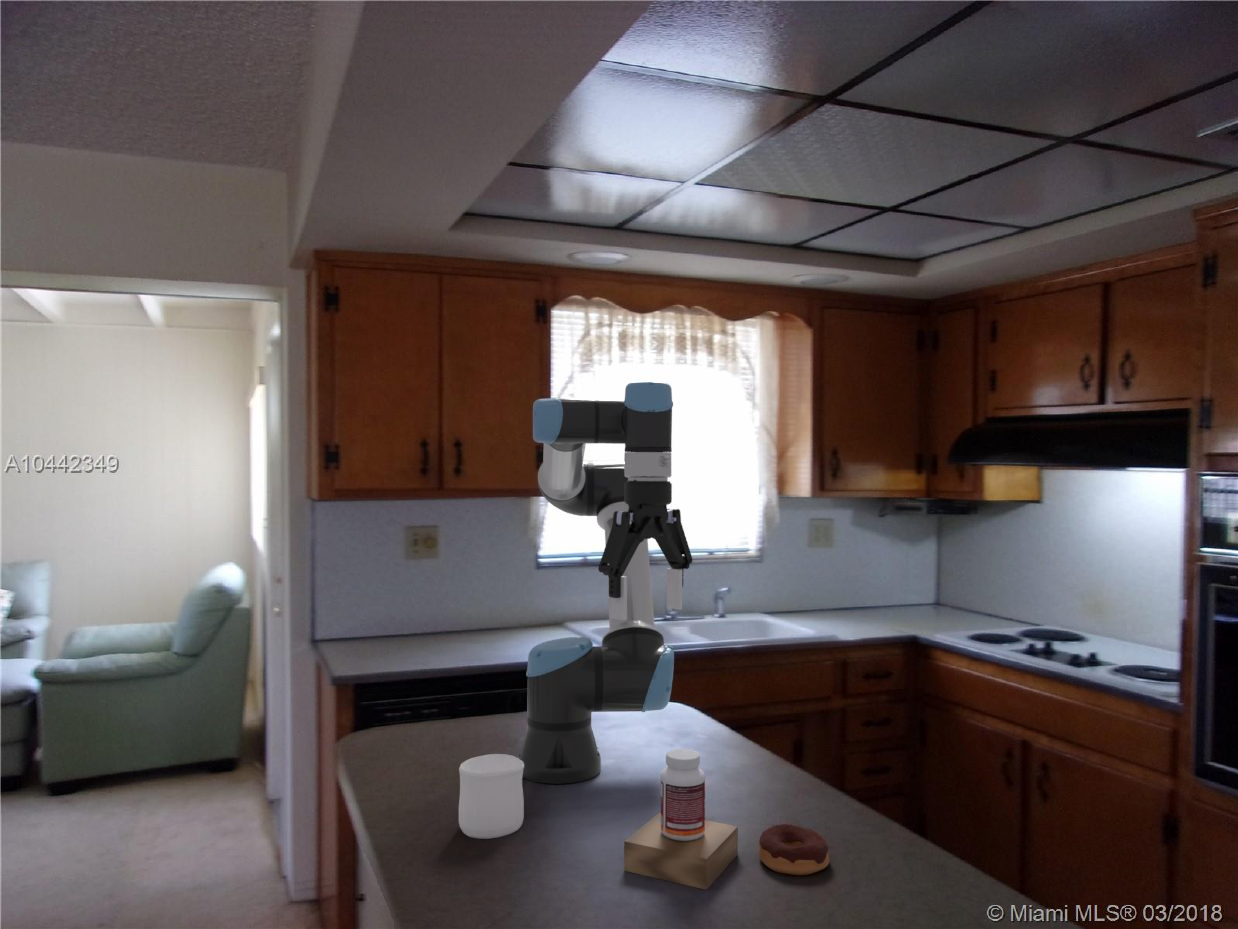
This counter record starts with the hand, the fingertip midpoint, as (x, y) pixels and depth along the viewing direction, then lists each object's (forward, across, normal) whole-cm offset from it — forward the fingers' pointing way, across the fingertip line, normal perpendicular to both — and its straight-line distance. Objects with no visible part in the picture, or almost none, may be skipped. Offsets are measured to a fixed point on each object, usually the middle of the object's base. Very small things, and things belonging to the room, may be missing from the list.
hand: (647, 613), depth 143 cm
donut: (+32, +1, -26) cm, 41 cm away
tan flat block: (+32, -10, -15) cm, 36 cm away
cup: (+32, -20, +14) cm, 40 cm away
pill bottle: (+28, -10, -15) cm, 33 cm away
